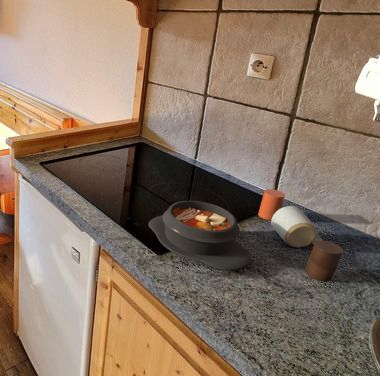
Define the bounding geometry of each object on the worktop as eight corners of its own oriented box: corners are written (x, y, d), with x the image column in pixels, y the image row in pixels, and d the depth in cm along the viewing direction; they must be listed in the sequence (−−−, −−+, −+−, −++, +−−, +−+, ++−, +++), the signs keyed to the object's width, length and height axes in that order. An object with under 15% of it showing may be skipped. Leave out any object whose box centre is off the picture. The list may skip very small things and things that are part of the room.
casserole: (130, 232, 101) (134, 202, 98) (181, 214, 110) (186, 186, 107) (214, 287, 82) (222, 253, 79) (267, 260, 91) (277, 228, 88)
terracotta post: (273, 212, 113) (280, 189, 110) (281, 221, 108) (288, 197, 105) (255, 211, 113) (261, 188, 110) (262, 220, 108) (269, 196, 106)
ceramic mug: (281, 248, 96) (291, 220, 92) (267, 230, 103) (275, 204, 100) (327, 252, 95) (339, 223, 92) (309, 233, 103) (319, 207, 99)
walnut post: (324, 268, 89) (334, 241, 86) (337, 282, 85) (348, 254, 82) (300, 266, 89) (310, 239, 87) (312, 280, 85) (322, 252, 82)
